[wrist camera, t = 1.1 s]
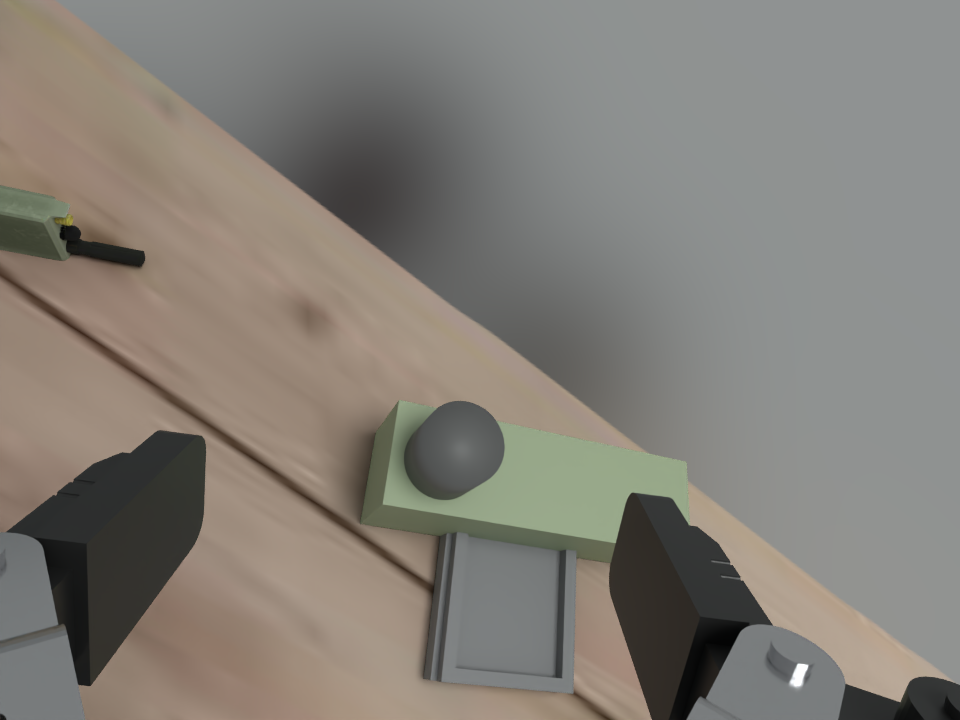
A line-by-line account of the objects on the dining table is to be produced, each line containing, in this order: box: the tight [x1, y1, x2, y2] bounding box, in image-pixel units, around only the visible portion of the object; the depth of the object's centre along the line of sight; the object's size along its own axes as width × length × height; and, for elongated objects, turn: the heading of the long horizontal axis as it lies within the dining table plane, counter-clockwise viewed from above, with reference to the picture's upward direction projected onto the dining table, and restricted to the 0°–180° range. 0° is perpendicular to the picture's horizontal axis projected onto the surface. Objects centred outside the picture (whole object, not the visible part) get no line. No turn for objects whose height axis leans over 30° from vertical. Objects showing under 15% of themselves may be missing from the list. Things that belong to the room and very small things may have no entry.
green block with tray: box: [360, 400, 690, 694], centre depth 49 cm, size 19×26×14 cm
